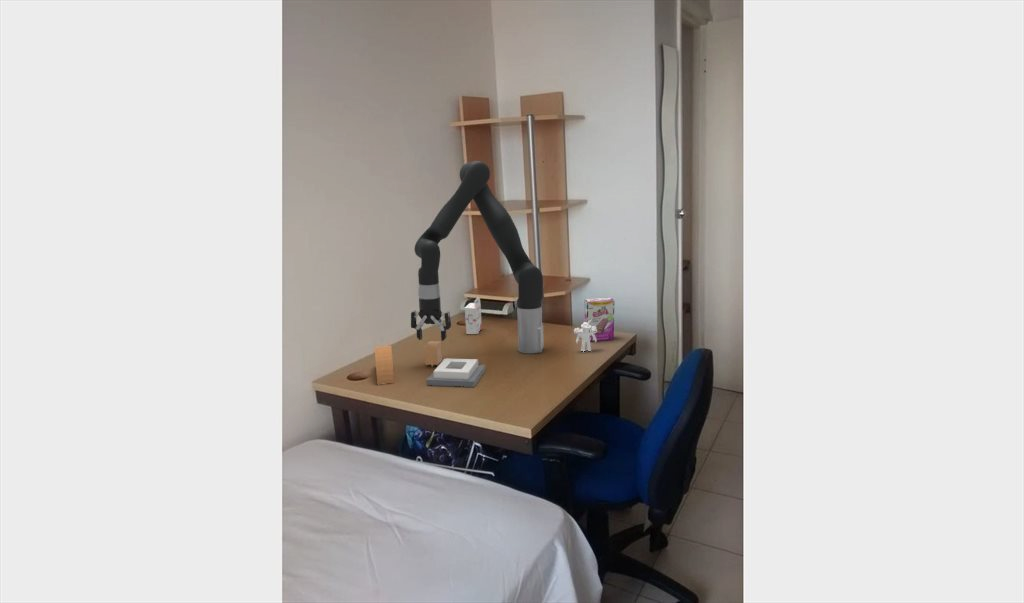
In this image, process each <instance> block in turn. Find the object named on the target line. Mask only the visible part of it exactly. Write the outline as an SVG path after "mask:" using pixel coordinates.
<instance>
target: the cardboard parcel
mask: <svg viewBox="0 0 1024 603" xmlns="http://www.w3.org/2000/svg"><path fill="white" fill-rule="evenodd" d="M442 351H443V350H442V341H437V340H436V341H433V340H430V341H428V342H427V343H426V344H424V360H425V365H426V366H427V365H428V366H429V365H430V366H431V368H433V367H434V366H439V365H440V364H441V361H443V352H442Z"/></svg>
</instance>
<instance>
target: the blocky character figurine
mask: <svg viewBox="0 0 1024 603" xmlns="http://www.w3.org/2000/svg"><path fill="white" fill-rule="evenodd" d="M591 321H592V319H591V320H590V321H589V322H588V323H590V322H591ZM588 323H587V322H584V321H583V323H581V325H580V327H581V328H580V327H577V328H576V327H575V328H574V329H573V334H574V335H576V339H575V343H576V344H579V343H578V342H580V341H581V347H580V352H581V351H583V352H582V353H585V352H584V351H586V350H588V351H591V350H592V348H591V347H592V344H591V341H590V335H592V337H593V340H595V341H594V343H597V342H598V341H597V339H596V337H595V335H594V333H596V332H597V328H595V327H596V326H592V328H591V326H590V325H589V324H588ZM590 328H591V329H590ZM593 331H596V332H593ZM580 338H581V340H580ZM588 351H587V352H588ZM591 352H592V351H591Z"/></svg>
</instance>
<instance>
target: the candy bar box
mask: <svg viewBox="0 0 1024 603" xmlns="http://www.w3.org/2000/svg"><path fill="white" fill-rule="evenodd" d="M583 303H584V313H583V314H584V315H583V316H584V317H583V318H584V320H583V323H584V322H587V323H588V322H589V321H590V320H591V319H592V321H591V322H590V323H588V324H589V325H590V326H591V328H592V326H596V327H595V328H597V332H596V331H593V332H596V333H594V335H595V337H596V339H597V341H596V342H601V341H614V339H615V338H614V337H615V336H614V334H615V333H614V330H615V299H613V298H612V297H603V298H602V297H600V298H585V299H584V301H583ZM591 328H590V329H591ZM590 342H595V340H593V337H592V335H590Z"/></svg>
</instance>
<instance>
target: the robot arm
mask: <svg viewBox="0 0 1024 603" xmlns="http://www.w3.org/2000/svg"><path fill="white" fill-rule="evenodd" d="M490 178H491V170H490V167H489V166H488V164H487V163H485V162H484V161H482V160H481V161H480V160H473V161H468V162H466V163H464V164H463V165H462V166H461V168H460V169H459V179H460V184H459V186H458V188H457V190H455V192H454V194H453V195H452V196H451V198H449V200H448V201H447V202H446V203H445V204H444V205H443V206H442V207H441V209H440V210H439V211H438V213H437V214H436V216H435V217H434V219H433V221H432V222H431V224H430V226H428V228H427V229H426V230H425V231H424V232H423V233H422V234H421V236H419V237H418V239H417V241H416V243H415V244H414V253H415V255H416V256H417V257H418V258H419V259H421V260H420V262H421V264H420V265H421V266H420V267H419V268H418V271H417V276H418V277H417V278H418V291H417V292H418V293H417V294H418V308H419V310H418V311H417V310H413V311H412V312H411V313H410V327H411V329H415V330H416V338H417V339H418V341H421V340H423V329H422V327H423V325H424V324H426V325H436V327H438V328H439V329H440V338H441V339H440V340H441V341H440V342H444V341H445V340H446V339H447V330H450V328H451V327H452V320H451V313H450V311H446V312H445V311H444V312H443V311H442V308H441V307H442V306H441V289H440V287H441V286H440V282H439V268H440V264H441V249H440V246H439V243H440V242H441V241H442V240H445V239H447V237H449V235H450V234H451V232H452V230H453V229H454V227H455V226H456V225H457V222H459V219H460V218H461V216H462V214H463V213H464V212H465V210H466V209H467V207H468V206H469V204H470V203H471V202H472V201H474V203H475V205H476V207H477V209H478V211H479V214H480V215H481V218H482V219H483V221H484V223H485V225H486V227H487V230H488V231H489V233H490V235H491V236H492V238H493V240H494V241H495V243H496V245H497V246H498V248H499V249H500V251H501V253H502V254H503V255H504V257H505V258H506V260H507V262H508V264H509V265H508V266H509V267H510V270H511V273H512V275H513V277H514V280H515V282H516V283H517V284H518V286H517V287H518V296H517V297H518V298H517V299H516V310H517V312H516V314H517V342H518V343H517V346H518V352H520V353H523V354H537V353H539V354H540V353H542V352H543V350H544V324H543V319H542V318H543V313H542V312H543V310H542V309H543V308H542V304H543V303H542V301H543V296H544V278H543V277H544V276H543V273H542V270H540V268H539V267H537V266H536V265H534V263H533V262H532V261H531V259H530V257H529V256H528V255H527V252H526V251H525V249H524V247H523V245H522V241H521V237H520V235H519V234H520V233H519V232H518V228H517V226H516V225H515V224H516V223H515V222H514V220H513V218H512V217H511V215H510V214H509V212H508V211H507V209H506V208H505V206H504V205H502V203H501V202H500V201H499V200H498V198H497V197H495V195H494V194H493V192H492V190H491V188H490V186H489V185H488V184H489V183H488V182H489V181H490ZM418 317H419V318H420V321H419V322H418V324H417V318H418ZM442 317H443V319H444V322H443V320H442V319H441V318H442ZM444 323H445V324H444Z"/></svg>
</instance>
